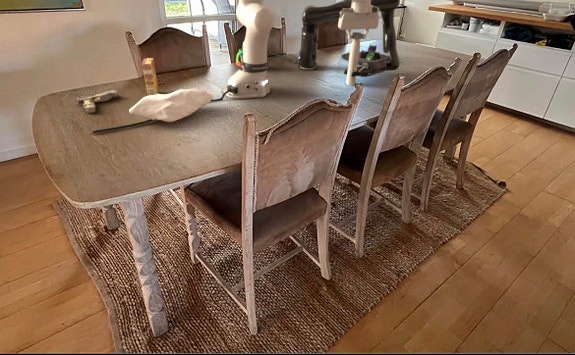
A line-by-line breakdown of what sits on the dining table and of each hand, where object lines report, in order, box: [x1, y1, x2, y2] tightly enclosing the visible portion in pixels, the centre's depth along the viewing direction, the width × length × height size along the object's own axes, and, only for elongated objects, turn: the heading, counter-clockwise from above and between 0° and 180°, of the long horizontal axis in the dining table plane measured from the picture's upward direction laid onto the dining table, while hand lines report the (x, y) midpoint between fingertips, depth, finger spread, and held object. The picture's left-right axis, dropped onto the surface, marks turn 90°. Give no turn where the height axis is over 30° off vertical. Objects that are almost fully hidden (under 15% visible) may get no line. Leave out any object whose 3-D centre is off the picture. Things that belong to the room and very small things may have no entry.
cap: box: [351, 31, 363, 40], centre depth 178 cm, size 5×5×2 cm
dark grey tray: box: [341, 44, 390, 65], centre depth 232 cm, size 35×35×9 cm
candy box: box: [141, 57, 160, 96], centre depth 163 cm, size 9×4×15 cm, turn 13°
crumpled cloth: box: [129, 88, 214, 123], centre depth 147 cm, size 24×35×9 cm
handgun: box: [76, 89, 120, 114], centre depth 155 cm, size 3×18×15 cm
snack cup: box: [235, 47, 243, 63], centre depth 205 cm, size 16×10×10 cm
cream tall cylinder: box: [345, 38, 361, 87], centre depth 184 cm, size 5×5×25 cm
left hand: (356, 38), depth 178 cm, fingers open, 6 cm apart
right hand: (348, 73), depth 186 cm, fingers closed on cream tall cylinder, 4 cm apart
